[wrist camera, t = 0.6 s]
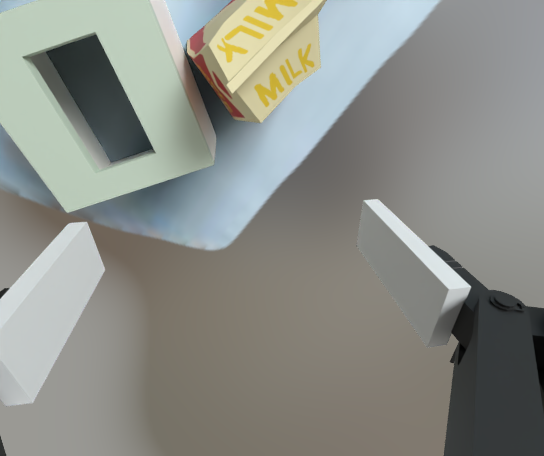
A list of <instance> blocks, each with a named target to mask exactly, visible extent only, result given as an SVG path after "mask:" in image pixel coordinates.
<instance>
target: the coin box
mask: <svg viewBox="0 0 544 456" xmlns="http://www.w3.org/2000/svg"><path fill="white" fill-rule="evenodd" d="M96 34H97V36H98V38H99V40H100V42H101V44H102V46H103V48H104V50H105V52H106V54H107V56H108V58H109V60H110V62H111V64H112V66H113V68H114V70H115V72H116V74H117V76H118V78H119V80H120V82H121V84H122V86H123V88H124V90H125V92H126V94H127V96H128V98H129V100H130V102H131V104H132V106H133V108H134V110H135V112H136V114H137V116H138V118H139V120H140V122H141V124H142V126H143V128H144V130H145V132H146V134H147V136H148V138H149V140H150V142H151V144H152V146H153V148H154V149H151V150H147V151H144V152H141V153H138V154H135V155H132V156H129V157H126V158H123V159H120V160H117V161H114V162H110V160H109V158H108V157H107V155H106V153H105V152H104V150H103V148H102V146H101V145H100V143H99V141H98V140H97V138H96V136H95V135H94V133H93V131H92V130H91V128H90V126H89V124H88V123H87V121H86V119H85V118H84V116H83V114H82V113H81V111H80V109H79V108H78V106H77V104H76V102H75V101H74V99H73V97H72V96H71V94H70V92H69V91H68V89H67V87H66V86H65V84H64V82H63V81H62V79H61V77H60V75H59V74H58V72H57V70H56V69H55V67H54V65H53V64H52V62H51V60H50V59H49V57H48V55H47V53H46V52H45V51H48V50H51V49H54V48H57V47H60V46H63V45H66V44H69V43H72V42H75V41H78V40H81V39H84V38H87V37H90V36H93V35H96ZM0 123H1V125H2V126H3V127H4V129H5V130H6V132H7V133H8V134H9V136H10V137H11V138H12V140H13V141H14V142H15V144H16V145H17V146H18V148H19V149H20V150H21V152H22V153H23V154H24V156H25V157H26V158H27V160H28V161H29V162H30V164H31V165H32V167H33V168H34V169H35V171H36V172H37V173H38V175H39V176H40V177H41V179H42V180H43V181H44V183H45V184H46V185H47V187H48V188H49V189H50V191H51V192H52V193H53V195H54V196H55V198H56V199H57V200H58V202H59V203H60V204H61V206H62V207H63V208H64V210H65V211H66V212H67V213H69V212H72V211H75V210H78V209H81V208H84V207H87V206H90V205H93V204H96V203H99V202H103V201H106V200H109V199H112V198H115V197H118V196H121V195H124V194H127V193H130V192H133V191H136V190H139V189H142V188H145V187H148V186H151V185H154V184H158V183H161V182H164V181H167V180H170V179H173V178H176V177H179V176H182V175H185V174H188V173H191V172H194V171H197V170H200V169H203V168H206V167H209V166H213V165H214V161H215V149H216V138H217V137H216V134H215V131H214V129H213V126H212V123H211V121H210V118H209V115H208V113H207V110H206V108H205V105H204V102H203V100H202V97H201V94H200V92H199V89H198V86H197V84H196V81H195V78H194V76H193V73H192V71H191V68H190V65H189V63H188V60H187V57H186V55H185V52H184V49H183V47H182V44H181V41H180V39H179V36H178V34H177V31H176V28H175V26H174V23H173V20H172V18H171V15H170V12H169V10H168V7H167V5H166V2H165V0H37V1H34V2H31V3H28V4H25V5H22V6H19V7H16V8H13V9H10V10H7V11H5V12H2V13H0Z"/></svg>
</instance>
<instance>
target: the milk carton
mask: <svg viewBox="0 0 544 456" xmlns="http://www.w3.org/2000/svg"><path fill="white" fill-rule="evenodd" d="M326 1H327V0H232V1H231V2H230V3H229V4H228V5H227V6H226V7H225V8H223V9H222V10H221V11H220V12H219V13H218V14H217V15H216V16H215V17H214V18H213V19H212V20H211V21H209V22H208V23H207V24H206V25H205V26H204V27H203V28H202V29H200V30H199V31H198V32H197V33H196V34H194V35H193V36H192V37H191V38H190V39H189V40H187V53H188V55H189V56H190V57H191V59H192V60H193V61H194V63H195V64H196V66H197V67H198V68H199V70H200V71H201V73H202V74H203V75H204V77H205V78H206V80H207V81H208V82H209V84H210V85H211V87H212V88H213V89H214V91H215V92H216V94H217V95H218V97H219V98H220V100H221V101H222V102H223V104H224V105H225V107H226V108H227V110H228V111H229V112H230V114H231V115H232V117H233V118H234V119H235V120H239V121H248V122H257V123H262V122H263V120H264V119H265V118H266V117H267V116H268V115H269V114H270V113H271V112H272V111H273V110H274V109H275V108H276V107H277V105H278V104H279V103H280V102H281V101H282V100H283V99H284V98H285V97H286V96H287V95H288V94H289V93H290V92H291V91H292V89H293V88H294V87H295V86H296V85H298V84H299V83H300V82H302V81H303V80H304V79H306V78H307V77H309V76H310V75H311V74H313V73H314V72H315V71H317V70H318V69H319V68H321V64H320V45H319V26H318V14H319V12H320V10H321V9H322V7H323V5H324V4H325V2H326Z"/></svg>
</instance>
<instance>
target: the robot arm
mask: <svg viewBox="0 0 544 456" xmlns="http://www.w3.org/2000/svg"><path fill="white" fill-rule="evenodd" d="M356 246H357V247H358V249H359V250H360V252H361V253H362V254H363V256H364V257H365V259H366V260H367V262H368V263H369V265H370V266H371V267H372V269H373V270H374V272H375V273H376V275H377V276H378V278H379V279H380V280H381V282H382V283H383V285H384V286H385V287H386V289H387V290H388V292H389V293H390V295H391V296H392V297H393V299H394V301H395V302H396V303H397V305H398V306H399V308H400V309H401V311H402V312H403V314H404V315H405V316H406V318H407V319H408V321H409V322H410V323H411V325H412V326H413V328H414V329H415V331H416V332H417V334H418V335H419V336H420V338H421V339H422V341H423V342H424V344H425V345H426V347H434V346H441V345H447V343H448V341H449V338H450V336H451V334H453V335H454V336H455V337H456V339H457V340H458V341H459V343H458V345H457V347H456V349H455V352H454V354H453V356H452V358H451V360H450V362H451V363H454V370H453V379H452V389H451V396H450V406H449V415H448V423H447V432H446V440H445V450H444V456H544V308H537V307H528V306H525V305H524V304H523V303H522V302H521V301H520V300H518V299H517V298H515V297H513V296H512V295H509V294H507V293H504V292H501V291H496V290H488V289H487V288H486V287H485V286H484V285H483V284H481V283H480V282H479V281H478V280H477V279H476V278H475V277H474V276H472V275H471V274H470V273H469V272H468V271H467V270H466V269H464V268H462V266H461V265H460V264H459V263H458V262H456V261H455V260H454V259H453V258H452V257H451V256H450V255H449V254H448V253H446V252H445V251H443V250H441V249H439V248H437V247H435V246H427V245H426V244H425V243H424V242H423V241H422V240H421V239H420V238H418V236H416V235H415V234H414V233H413V232H412V231H411V230H410V229H409V228H408V227H407V226H406V225H405V224H404V223H403V222H402V221H401V220H399V219H398V218H397V217H396V216H395V215H394V214H393V213H392V212H391V211H390V210H389V209H388V208H387V207H386V206H385V205H383V204H382V203H381V202H380V201H379V200H378V199H375V200H364V201H363V207H362V214H361V219H360V226H359V233H358V239H357V245H356ZM104 271H105V268H104V265H103V263H102V260H101V258H100V255H99V252H98V250H97V247H96V244H95V242H94V239H93V236H92V234H91V231H90V228H89V226H88V223H87V222H77V223H69V224H68V225H67V226H66V227H65V228H64V229H63V230H62V231H61V232H60V234H59V235H58V236H57V237H56V238H55V239H54V240H53V241H52V242H51V243H50V245H49V246H48V247H47V248H46V249H45V250H44V251H43V252H42V253H41V255H40V256H39V257H38V258H37V259H36V260H35V261H34V262H33V263H32V264H31V266H30V267H29V268H28V269H27V270H26V271H25V272H24V273H23V274H22V275H21V277H20V278H19V279H18V280H17V281H16V282H15V283H14V284H13V285H12V287H11V288H5V289H3V290H2V291H0V400H1V401H2V402H3V404H4V405H5V406H13V405H21V404H28V403H33V402H34V400H35V398H36V396H37V394H38V393H39V391H40V389H41V387H42V385H43V383H44V381H45V380H46V378H47V376H48V374H49V372H50V370H51V369H52V367H53V365H54V363H55V361H56V359H57V358H58V356H59V354H60V352H61V350H62V348H63V347H64V345H65V343H66V341H67V339H68V337H69V335H70V334H71V332H72V330H73V328H74V326H75V324H76V323H77V321H78V319H79V317H80V315H81V313H82V312H83V310H84V308H85V306H86V304H87V302H88V301H89V299H90V297H91V295H92V293H93V291H94V290H95V288H96V285H97V284H98V282H99V280H100V278H101V276H102V275H103V273H104ZM0 456H6V453H5V450H4V447H3V443H2V440H1V437H0Z"/></svg>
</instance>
